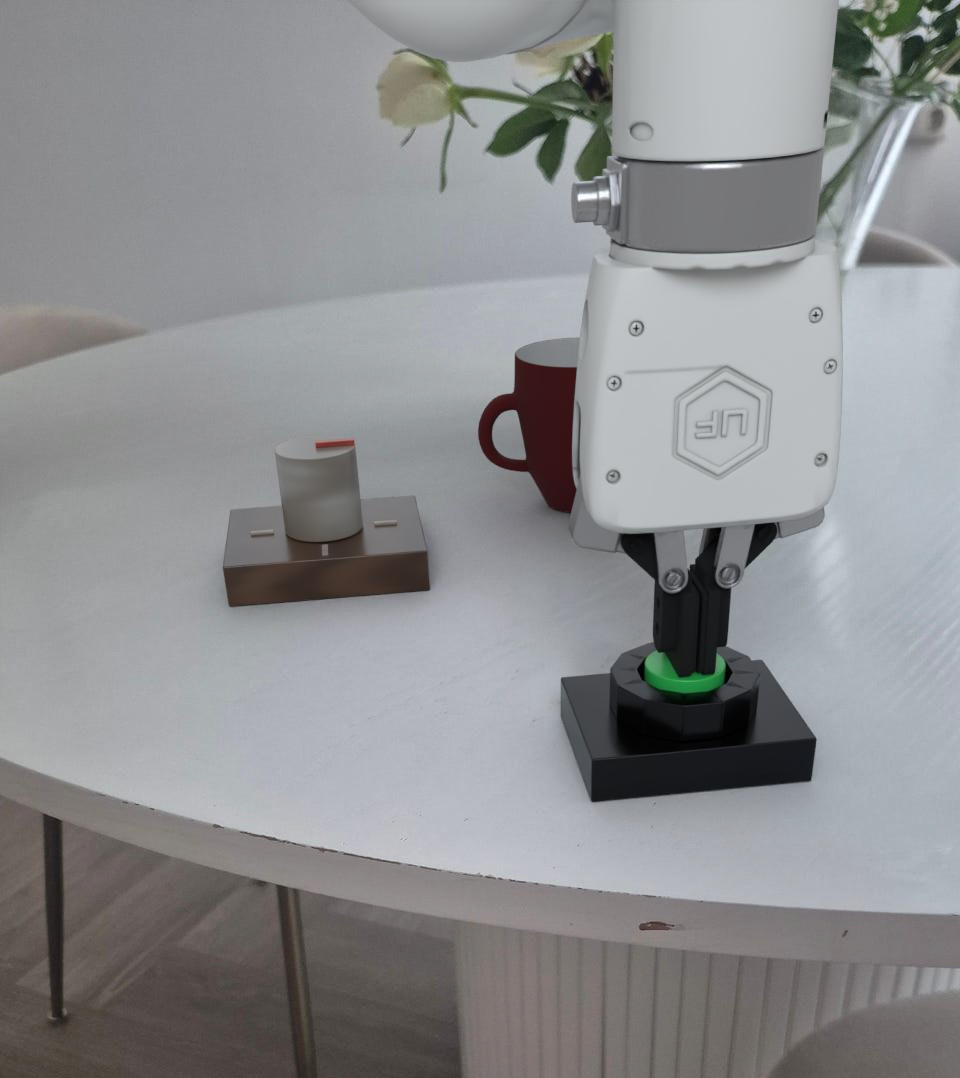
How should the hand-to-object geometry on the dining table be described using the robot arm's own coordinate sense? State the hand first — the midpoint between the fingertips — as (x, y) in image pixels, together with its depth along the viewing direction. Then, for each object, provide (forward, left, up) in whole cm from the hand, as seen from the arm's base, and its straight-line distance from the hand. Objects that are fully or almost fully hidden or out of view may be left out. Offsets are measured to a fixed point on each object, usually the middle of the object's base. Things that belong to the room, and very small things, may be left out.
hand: (688, 661), depth 57 cm
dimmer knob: (-16, +26, -2) cm, 31 cm away
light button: (0, 0, -2) cm, 2 cm away
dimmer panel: (-16, +26, -4) cm, 31 cm away
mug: (0, +34, -5) cm, 34 cm away
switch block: (0, 0, -4) cm, 4 cm away
